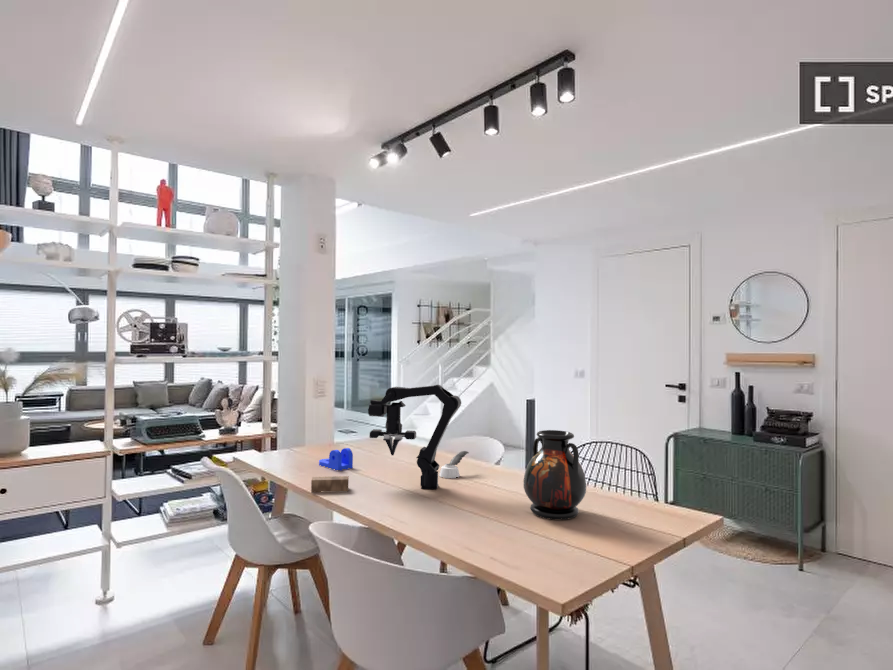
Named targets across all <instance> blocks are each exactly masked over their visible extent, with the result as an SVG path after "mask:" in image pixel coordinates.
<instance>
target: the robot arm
mask: <svg viewBox="0 0 893 670" xmlns="http://www.w3.org/2000/svg"><path fill="white" fill-rule="evenodd" d="M433 395H434V396H435V397H436V398H437V399H438V400H439V401H440V402H441V403H442V404H443V406H442V412H441V416H440V418H439V420H438V423H437V425H436V427H435V429H434V431H433V433H432V434H431V437H430V439H429V442H428V444H427V445H426V446H423V447H422V448H420V450H419V453H418V455H417V456H416V465H417V466H418V468H420V471H421V475H420V483H419V484H420V490H423V489H424V490H438V487H439V486H440V485H439V468H440V464H439V463H438V462H437V461H436V456H437V450H438V447H439V445H440V443H441V441H442V438H443V437H444V435H445V432H446V430H447V428H448V426H449V423H450V422H451V420H452V418H453V417H454V416H455V414H456V413H457V412H458V410H459V409H460V407H461V406H462V400H461V398H460V397H459V396H458V395H454V394H452V392H450V391H448V390H447V389H446V388H444V387H443V386H442V385H441V384H435V385H428V386H427V385H426V386H417V387H402V386H393V387H392V386H391V387H389V388H387V390H386V391H385V395H384V397H383V398H382V399H381V400H376V399H371V400H370V402H369V405H368V408H367V414H368V416H369V417H378V418H379V417H380V418H383V417H384V416H385V415H386V421H385V426H384V428H385V429H386V430H385V431H383V430H382V429H379V428H378V429H377V428H375V429H371V430H370V431H369V437H368V438H370V439H377V438H378V437H383V438H382V440H383V441H385V443H386V445H387V447H388V449H389V453H390V454H391V456H394V455H395V453H396V450H397V447H398V444H399V442H401V441H402V440H403V439H404V438H405V439H406V440H415V439H416V438H417V431H416V430H408V429H407V430H406V431H405V432H403V424H402V422H401V409H402V408H403V407H406V404H405V403H404V401H403V399H407V398H413V397H415V398H416V397H423V396H433ZM399 400H400V401H399ZM397 401H399V402H397ZM388 403H390V404H388ZM393 437H394V439H393Z"/></svg>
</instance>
